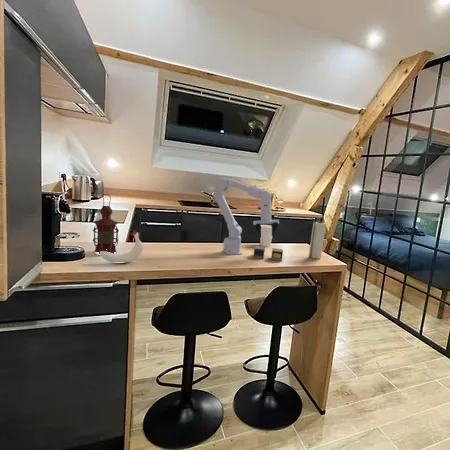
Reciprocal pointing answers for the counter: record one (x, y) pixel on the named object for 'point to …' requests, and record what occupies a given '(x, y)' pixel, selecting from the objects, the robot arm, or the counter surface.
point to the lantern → (106, 231)
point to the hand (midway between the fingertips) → (266, 236)
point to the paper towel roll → (317, 240)
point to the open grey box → (277, 251)
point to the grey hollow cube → (259, 252)
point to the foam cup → (266, 235)
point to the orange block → (276, 254)
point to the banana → (125, 257)
